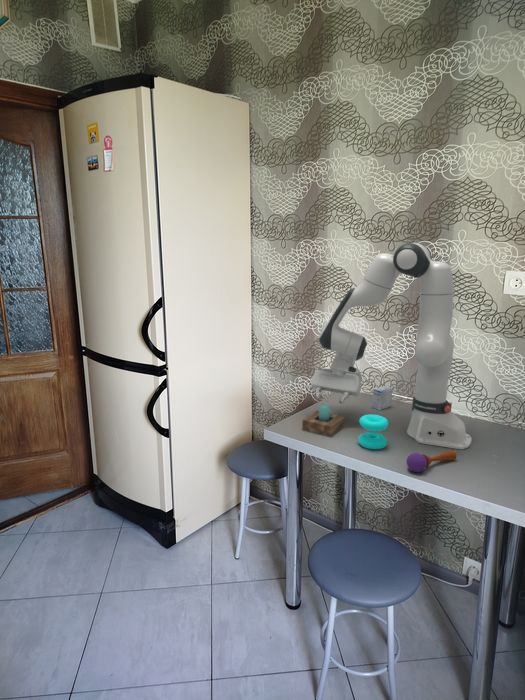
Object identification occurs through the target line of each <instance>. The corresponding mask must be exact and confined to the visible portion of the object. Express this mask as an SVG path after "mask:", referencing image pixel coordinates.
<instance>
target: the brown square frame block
mask: <svg viewBox="0 0 525 700" xmlns="http://www.w3.org/2000/svg"><path fill="white" fill-rule="evenodd" d="M344 427H345V416H342V415H337V414H333V413H330V415H329V422H323V421H319V410H316V411H314V412H312V413H311V414H309V415H308V416H306V417H305V418H304V419H302V428H301V429H302V431H305V430H306V431H305V432H309V431H310V433H313V432H314V434H318V435H322V436H326V437H329V438H330V437H331V438H332V437H333V436H335V434H337V433H338V432H339V431H340V430H342V429H343V428H344Z"/></svg>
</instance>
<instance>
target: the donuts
mask: <svg viewBox="0 0 525 700" xmlns="http://www.w3.org/2000/svg"><path fill="white" fill-rule="evenodd" d="M358 421H359V425H360V426H361V427H362V428H363V429H365V430H367V432H366V431H365V432H364V433H361V434H360V435H359V437H358V440H357V441H358V444H359V445H360V446H362V448H365V449H368V450H382V449H383V448H385V447H387V445H388V441H387V438H386V437H385V436H384V435H383V434H381V433H378V432H381V431H385V430H386V429H387V428H388V427H389V420H388V419H387V418H386V417H384V416H382V415H379V414H373V413H372V414H364V415H363V416H361V417H360V418H359V420H358Z"/></svg>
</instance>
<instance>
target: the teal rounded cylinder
mask: <svg viewBox="0 0 525 700" xmlns="http://www.w3.org/2000/svg"><path fill="white" fill-rule="evenodd" d="M318 411H319V421H323V422H329V415H330V414H331V413H330V412H331V406H330V405H328V404H320V405H319V407H318Z"/></svg>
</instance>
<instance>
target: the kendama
mask: <svg viewBox="0 0 525 700" xmlns="http://www.w3.org/2000/svg"><path fill="white" fill-rule="evenodd" d="M457 456H458V455H457V453H456V451H455V450H453V449H449V450H447V451H445V452H442V453H439V454H437V455H434V456H432V457H431V456H428V455H426V454H424V453H423V454H421V453H420V452H414V453H411V454H409V456H408V457H407V459H406V466H407V467H408V469H409V471H411V472H413V473H421V472H423V471H424V470H426V468H428V467H429V466H430V464H431V463H432V462H441V461H454V460H455V461H456V460H457Z"/></svg>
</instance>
